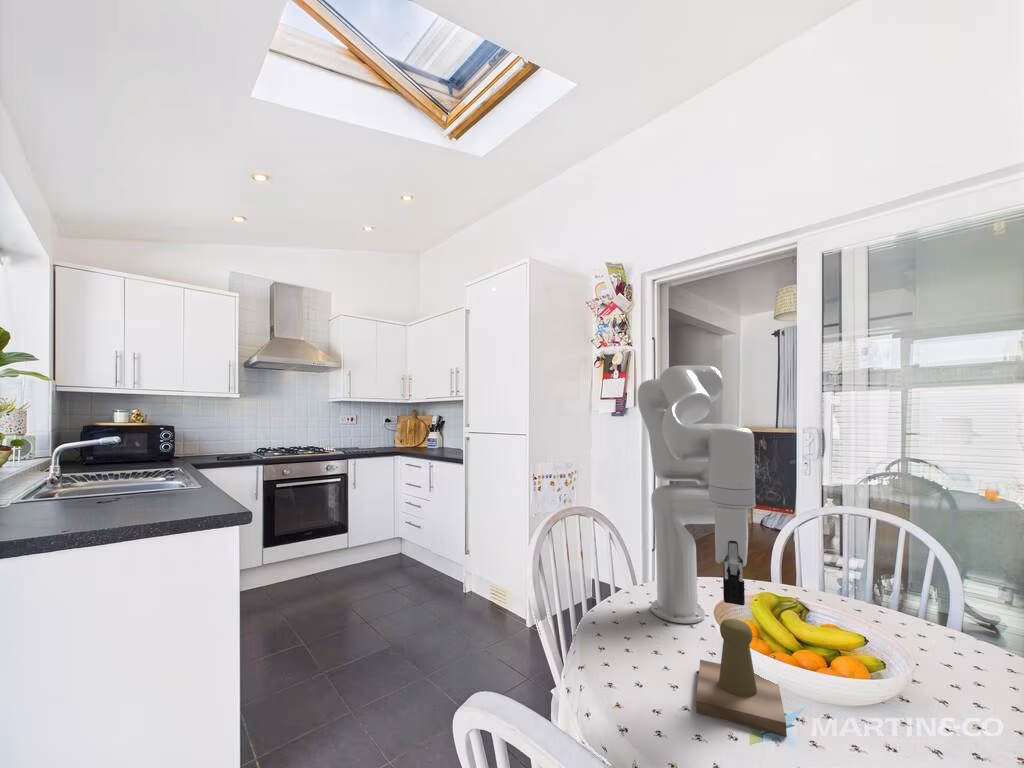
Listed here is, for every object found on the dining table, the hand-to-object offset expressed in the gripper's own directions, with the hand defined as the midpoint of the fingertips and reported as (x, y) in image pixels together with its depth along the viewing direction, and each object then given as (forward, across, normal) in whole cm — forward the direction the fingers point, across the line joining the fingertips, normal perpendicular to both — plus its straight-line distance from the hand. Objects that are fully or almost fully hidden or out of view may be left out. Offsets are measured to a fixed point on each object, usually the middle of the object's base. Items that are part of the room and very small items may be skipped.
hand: (733, 592), depth 81 cm
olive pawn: (+16, +1, 0) cm, 16 cm away
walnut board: (+18, +1, 0) cm, 18 cm away
